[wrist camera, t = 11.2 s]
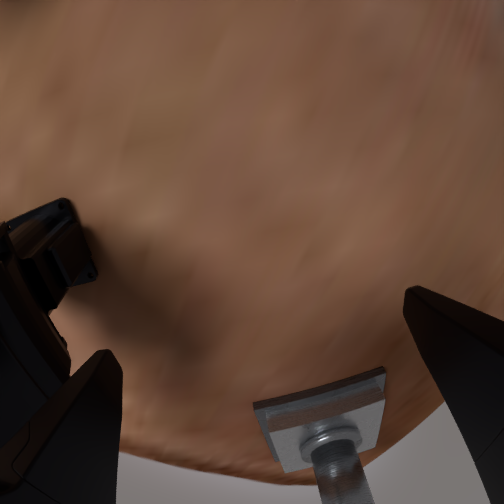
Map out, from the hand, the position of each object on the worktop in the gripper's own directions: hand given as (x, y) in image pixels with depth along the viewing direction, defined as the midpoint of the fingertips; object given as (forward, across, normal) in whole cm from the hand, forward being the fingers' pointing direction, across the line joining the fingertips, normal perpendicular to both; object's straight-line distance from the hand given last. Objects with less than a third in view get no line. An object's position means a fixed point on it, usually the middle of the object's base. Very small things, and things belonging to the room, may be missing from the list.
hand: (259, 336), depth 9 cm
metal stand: (+13, -5, +28) cm, 31 cm away
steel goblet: (+10, -5, +28) cm, 30 cm away
